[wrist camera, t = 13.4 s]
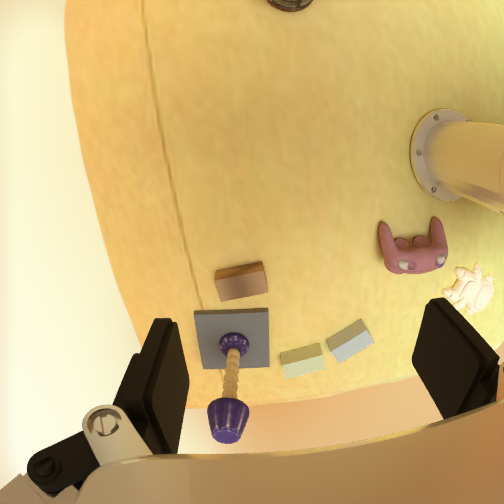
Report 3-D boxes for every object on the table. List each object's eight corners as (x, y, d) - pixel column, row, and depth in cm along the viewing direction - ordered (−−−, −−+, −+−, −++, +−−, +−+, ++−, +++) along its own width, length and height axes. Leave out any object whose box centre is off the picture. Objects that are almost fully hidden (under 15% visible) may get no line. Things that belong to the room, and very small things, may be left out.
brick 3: (360, 318, 44) (366, 329, 42) (368, 330, 45) (374, 342, 43) (326, 339, 46) (330, 351, 43) (335, 350, 47) (339, 363, 44)
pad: (267, 308, 43) (268, 312, 42) (269, 362, 47) (269, 366, 46) (194, 310, 43) (193, 314, 42) (203, 364, 47) (203, 369, 46)
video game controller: (371, 243, 42) (387, 284, 37) (377, 219, 38) (396, 261, 34) (430, 236, 41) (450, 273, 37) (439, 213, 38) (462, 251, 33)
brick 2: (318, 342, 46) (322, 354, 43) (321, 356, 47) (325, 368, 44) (280, 352, 46) (282, 365, 44) (284, 366, 47) (286, 379, 45)
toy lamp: (216, 355, 45) (207, 448, 29) (213, 329, 43) (201, 424, 28) (249, 354, 45) (252, 449, 29) (248, 329, 43) (251, 425, 28)
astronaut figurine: (463, 251, 41) (474, 259, 38) (497, 280, 43) (506, 288, 40) (433, 297, 44) (442, 306, 41) (470, 320, 46) (478, 329, 43)
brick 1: (262, 260, 41) (263, 270, 38) (266, 281, 42) (268, 292, 39) (216, 270, 41) (214, 280, 38) (222, 290, 42) (220, 301, 39)
